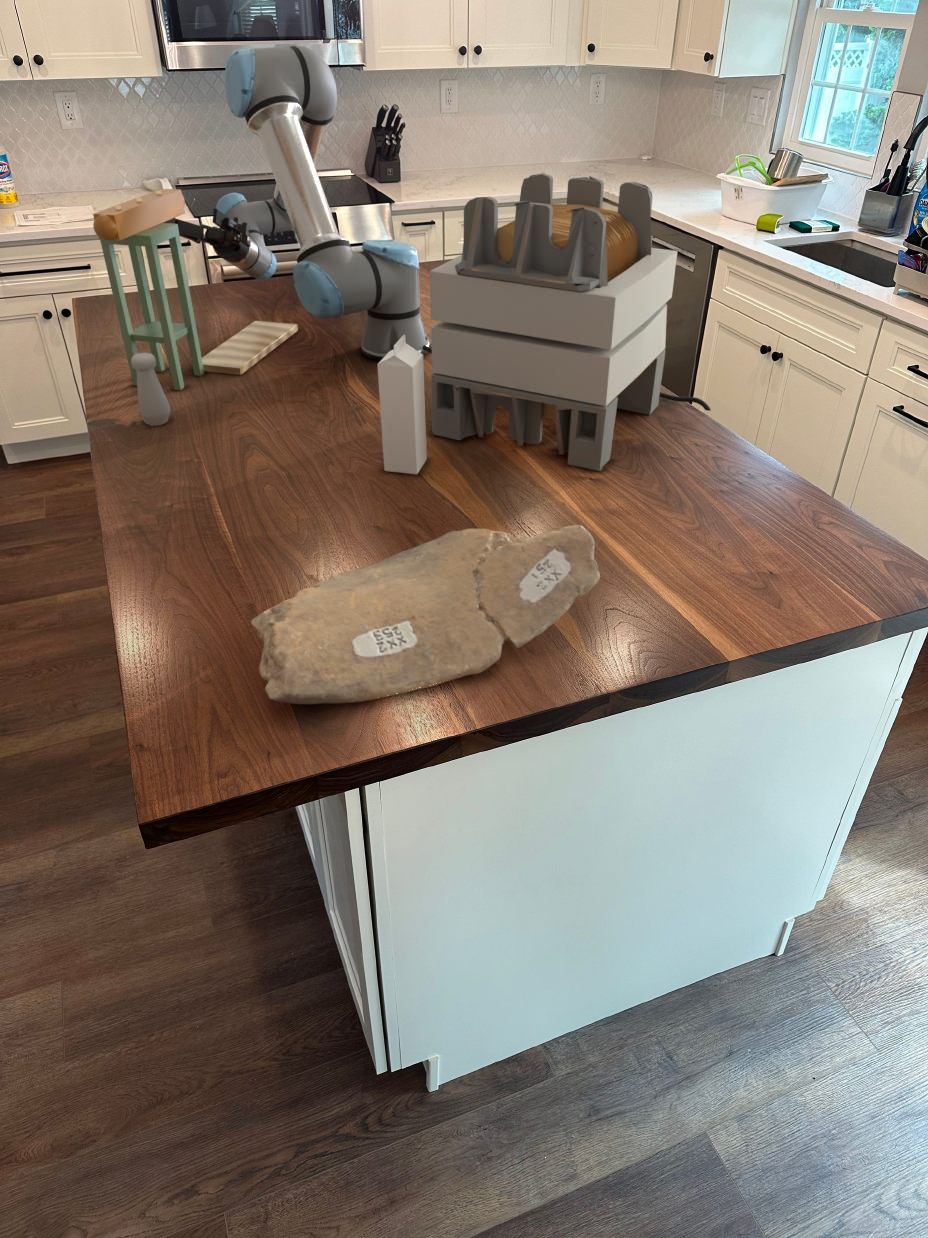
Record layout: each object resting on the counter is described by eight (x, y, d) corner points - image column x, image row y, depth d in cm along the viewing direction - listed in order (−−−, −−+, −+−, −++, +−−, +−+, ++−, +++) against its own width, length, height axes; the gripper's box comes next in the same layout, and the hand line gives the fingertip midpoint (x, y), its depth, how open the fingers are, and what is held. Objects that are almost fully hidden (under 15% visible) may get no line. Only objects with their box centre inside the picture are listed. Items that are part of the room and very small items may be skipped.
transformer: (661, 406, 177) (690, 178, 153) (600, 473, 153) (624, 217, 129) (506, 376, 190) (511, 163, 166) (428, 434, 166) (421, 196, 142)
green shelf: (180, 390, 185) (150, 235, 167) (133, 385, 187) (98, 232, 170) (204, 373, 193) (177, 223, 175) (158, 368, 195) (127, 220, 177)
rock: (229, 623, 121) (286, 753, 102) (211, 559, 114) (269, 685, 96) (524, 530, 135) (621, 630, 116) (523, 468, 128) (627, 563, 109)
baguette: (113, 243, 162) (106, 215, 160) (91, 242, 163) (85, 214, 161) (190, 210, 184) (186, 185, 182) (171, 209, 185) (167, 184, 182)
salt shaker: (178, 418, 173) (165, 352, 166) (159, 429, 169) (144, 362, 161) (155, 413, 175) (140, 347, 168) (134, 424, 171) (118, 357, 163)
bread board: (240, 374, 192) (239, 368, 191) (194, 370, 194) (193, 363, 193) (298, 330, 215) (297, 324, 214) (256, 326, 217) (255, 320, 217)
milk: (384, 471, 154) (374, 344, 142) (394, 456, 159) (386, 332, 146) (418, 474, 153) (411, 347, 140) (427, 459, 158) (422, 334, 145)
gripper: (187, 226, 209) (133, 192, 189) (286, 232, 204) (241, 197, 183) (184, 259, 210) (130, 229, 190) (282, 266, 205) (237, 235, 184)
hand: (185, 213), depth 186 cm, fingers open, 13 cm apart
